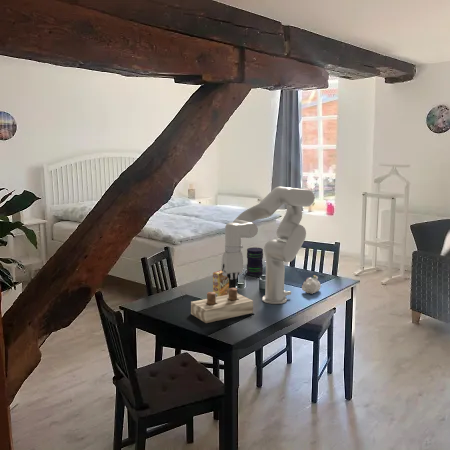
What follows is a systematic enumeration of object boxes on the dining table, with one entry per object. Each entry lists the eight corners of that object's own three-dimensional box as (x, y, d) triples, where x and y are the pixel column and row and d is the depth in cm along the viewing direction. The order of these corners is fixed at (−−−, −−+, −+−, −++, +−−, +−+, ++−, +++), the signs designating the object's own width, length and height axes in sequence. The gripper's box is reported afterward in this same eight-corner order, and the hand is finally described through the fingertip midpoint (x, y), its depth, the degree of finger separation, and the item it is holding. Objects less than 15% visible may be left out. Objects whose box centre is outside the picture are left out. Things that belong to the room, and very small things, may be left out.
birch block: (191, 314, 245) (191, 301, 244) (236, 304, 258) (236, 292, 257) (206, 323, 233) (206, 310, 232) (252, 312, 247) (253, 300, 246)
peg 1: (212, 303, 244) (212, 291, 243) (217, 305, 241) (217, 293, 240) (205, 304, 242) (205, 292, 241) (209, 307, 239) (209, 295, 238)
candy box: (219, 303, 260) (219, 273, 258) (212, 301, 263) (212, 272, 260) (229, 298, 267) (229, 270, 265) (222, 297, 270) (222, 268, 267)
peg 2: (233, 298, 251) (234, 287, 250) (238, 301, 247) (238, 289, 246) (227, 300, 249) (227, 288, 248) (231, 302, 245) (231, 290, 244)
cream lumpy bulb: (316, 272, 284) (306, 275, 271) (327, 281, 281) (318, 285, 268) (306, 285, 287) (296, 289, 274) (317, 294, 284) (307, 299, 271)
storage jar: (265, 271, 319) (265, 248, 316) (259, 275, 310) (259, 251, 307) (250, 270, 323) (250, 246, 320) (244, 274, 314) (244, 250, 311)
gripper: (241, 246, 251) (240, 282, 254) (215, 249, 243) (214, 286, 246) (250, 248, 244) (249, 286, 247) (223, 252, 236) (223, 290, 239)
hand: (232, 286), depth 247 cm, fingers closed
